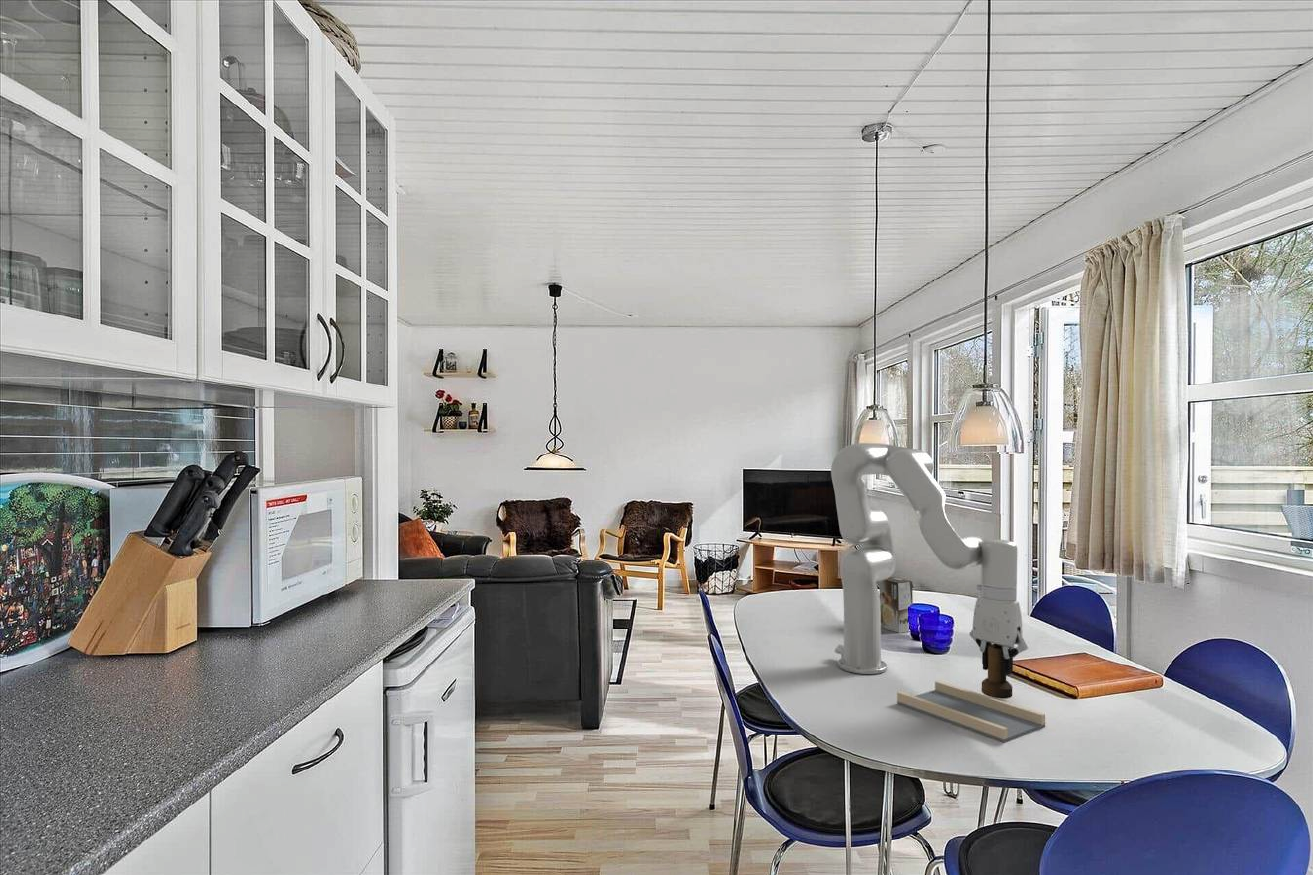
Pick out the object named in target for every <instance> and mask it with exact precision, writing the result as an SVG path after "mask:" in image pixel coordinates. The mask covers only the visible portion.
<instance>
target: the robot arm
mask: <svg viewBox="0 0 1313 875" xmlns="http://www.w3.org/2000/svg"><path fill="white" fill-rule="evenodd" d="M837 452H838V453H836V455H835V456H834V458H833V460H832V463H831V468H830V474H831V480H832V481H831V482H832V485H833V486H832V487H833V490H834V497H835V506H836V512H837V520H838V526H839V533H840V535H841V538H842V539H843V540H844V541H845V542H846V543H848V544H852V545H859V544H860V545H861V546H860V547H861V548H857V549H853V550H851V551H849V552H847V553H846V554H845V555H844V556H843V558H842V559H841V561H840V564H839V573H840V579H841V583H842V591H843V644H837V647H835V648H834V653H835V654H838V655H839V654H840V657H841V658H840V659H839V660H838V661H837V663H838V664H837V665H838V667H839V668H840V669H842V670H843V671H845V672H850V673H854V674H860V675H877V674H881V673H885V672H886V671H887V670H888V664H887V663H886V662H885V661H883V660H882V642H881V641H882V638H881V637H882V632H881V631H882V627H881V610H880V591H879V590H878V585H877V582H878V583H879V581H882V580H885V579H887V578H889V577H892V576H893V574H894V573H895V570H896V561H897V560H896V553H895V546H894V540H893V533H892V527H891V524H890V520H889V518H888V517H887V515H886V514H885V512H883V511H882V510H881V509H880V508H877V507H873V506H870V502H869V497H868V496H869V495H868V491H867V487H866V486H865V483H864V481H863V480H862V477H863V476H865V475H866V476H867V475H882V476H883V475H884V476H888V477H890V480H892V482H893V483H894V484H895V485H896V487H897V489H898V490H899V491H900V493H901V494H902V496H904V499H905V500H906V501H907V502H908V504H909V505H910V507H911V508H912V509H913V510H914V512H915V514H916V518H917V520H916V521H917V523H918V526H919V530H920V532H921V534H922V536H923V539H924V541H925V542H926V544H927V546H928V547H929V548H930V549H931V551H932V552H933V553H934V555H935V556H936V558H937V559H939V561H940V562H941V563H942V564H943V565H944V566H946V568H949V569H952V570H954V571H960V570H965V569H968V568H973V567H981V580H980V581H981V582H980V584H979V583H978V584H977V585H976V589H977V591H980V595H978V596H977V597H976V600H975V601H976V602H975V605H974V611H973V617H972V618H973V619H972V629H971V630H970V632H969V636H970V638H972V639H973V640H974V641H975V643H976V644H977V646H978V648H979V651H980V652H981V653H982V656H981V658H982V659H981V660H982V661H981V664H982V669H983V670H985V671H988V645H989V644H998V645H1001V646H1002V647H1003V653H1004V658H1002V659H1001V674H1002V675H1003V676H1006V677H1007V676H1010V675H1012V673H1013V670H1014V658H1015V657H1016V656H1017V655H1019V654H1020V653H1022V652H1026V651H1028V650H1029V646H1028V645H1027V643H1026V640H1025V639H1024V637H1023V631H1024V630H1023V617H1022V611H1021V610H1022V609H1021V606H1020V602H1019V601H1017V600H1018V599H1017V597H1018V596H1017V594H1018V591H1017V589H1018V588H1017V587H1018V545H1017V544H1016V543H1015V542H1013V541H1011V540H1006V539H992V538H986V537H983V536H979V535H975V534H967V535H961V536H959V534H958V533H957V532H956V530H955V529H954V528H953V526H952V524H951V523H950V522H949V520H948V518H947V514H946V511H945V504H946V500H947V495H946V492H945V491H944V489H943V488H942V487H941V486H940V485H939V483H938V482H937V480H935V478H934V477H933V476H932V474H933V471H934V462H933V460H932V457H930V455H929V454H928V453H927V452H925V451H923V450H921V449H917V448H908V447H904V446H897V445H892V444H885V443H876V442H875V443H872V442H871V443H865V442H860V443H859V442H858V443H851V444H849V445H847V446H845V447H843V448H841V450H839V451H837ZM1015 645H1017V646H1015Z"/></svg>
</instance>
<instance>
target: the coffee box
mask: <svg viewBox="0 0 1313 875" xmlns="http://www.w3.org/2000/svg"><path fill="white" fill-rule="evenodd" d="M878 584H879V585H878V586H879V587H878V588H879V590H878V592H879V596H880V610H881V629H886V630H889V631H892V632H895V633H898V634H901V633H902V634H903V633H907V632H909V624H908V607H909V606H910V605H913V603H914V602H913V581H912V580H909V579H903V578H899V577H895V576H890V577H889V578H887V579H885V580H882V581H879V582H878Z"/></svg>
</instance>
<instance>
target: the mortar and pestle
mask: <svg viewBox="0 0 1313 875" xmlns="http://www.w3.org/2000/svg"><path fill="white" fill-rule="evenodd" d="M1002 658H1004V653H1003V647H1002V646H1001V645H998V644H994V643H992V644H989V645H988V670H987V678H984V679H983V680H982V681H981V690H980V691H981V693H982V695H985V696H988V697H992V698H995V699H1000V700H1001V699H1002V700H1003V699H1010V698H1012V697H1013V685H1012V684H1011V683H1010V682H1009V681H1008V680H1007V675H1006V676H1003V675H1002V674H1001V659H1002Z"/></svg>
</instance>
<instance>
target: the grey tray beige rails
mask: <svg viewBox="0 0 1313 875" xmlns="http://www.w3.org/2000/svg"><path fill="white" fill-rule="evenodd" d="M896 697H897V698H896V703H897V705H900V706H903V707H905V708H908V709H911V710H914V711H916V712H919V713H922V714H924V715H928V716H931V717H933V718H935V719H939V720H940V721H944V722H947V723H950V724H953V725H955V726H958V727H960V728H963V729H965V730H969V731H972V732H975V733H977V734H980V735H983V736H986V737H988V738H990V739H993V740H996V741H999V742H1002V743H1006V742H1009V741H1011V740H1014V739H1016V738H1019V737H1022V736H1025V735H1027V734H1030V733H1032V732H1035V731H1038V730H1040V729H1043V728H1045V727H1046V714H1045V713H1042V712H1039V711H1036V710H1033V709H1030V708H1027V707H1024V706H1020V705H1016V704H1014V703H1011V702H1007V701H1004V700H1001V699H999V698H994V697H990V696H987V695H985V694H983V693H982V694H981V693H979V692H975V691H972V690H969V689H967V688H963V687H959V686H957V685H952V684H950V683H946V682H943V681H940V680H936V681H934V690H930V691H927V692H924V693H920V694H916V695H913V694H908V693H907V692H905V691H904V692H903V691H901V690H900V691H897V693H896Z"/></svg>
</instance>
